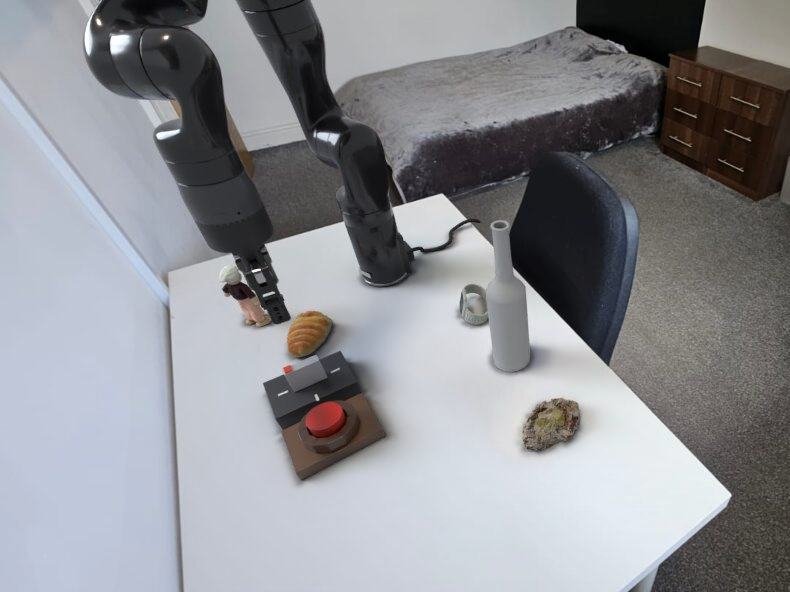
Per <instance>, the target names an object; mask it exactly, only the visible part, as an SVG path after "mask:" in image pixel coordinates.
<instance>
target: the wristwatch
mask: <svg viewBox="0 0 790 592" xmlns="http://www.w3.org/2000/svg"><path fill="white" fill-rule="evenodd" d="M469 294H475V295H478V296H480V297H481V298H482V300H484V302H485V310H486V311H485V312H484V314H483V313H482V314H475V313H473V312H471V311H470V309H469V308H468V296H467V295H469ZM459 311H460V316H461V317H462V318H463V319H464V320H465V322H467V323H469V324H471V325H476V326H477V325H478V326H479V325H482V324H484V323H486V322H487V321H488V320H489V317H488V308H487V300H486V288H485V287H483V286H482V285H479V284H477V283H467V284H465V285H464V287H463V288H462V289H461V292H460V297H459Z"/></svg>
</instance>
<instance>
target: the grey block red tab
mask: <svg viewBox="0 0 790 592" xmlns="http://www.w3.org/2000/svg"><path fill="white" fill-rule="evenodd" d="M319 359H320V358H319V357H318V355H317V354H315V355H312V356H310V357H308V358H305V359H302V360H300V361H297V362H295V363H293V364H288V365H286V366H283V367H282V368H281V370H282V373H283V374H284V375H285V377H286V379H287V381H288V382H289V384H290V386H291V387H292V389H293V391H294V392H296V391H299V390H301V389H303V388H306V387H308V386H310V385H312V384H315V383H317V382H319V381H321V380H324V379H326V378H328V377H327V375H326V373H325V371H324V369H323V367H322V365H321V363H320V361H319Z"/></svg>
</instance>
